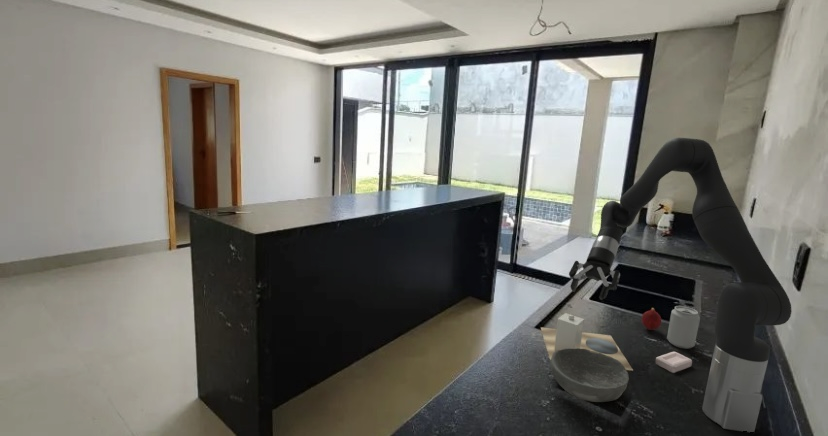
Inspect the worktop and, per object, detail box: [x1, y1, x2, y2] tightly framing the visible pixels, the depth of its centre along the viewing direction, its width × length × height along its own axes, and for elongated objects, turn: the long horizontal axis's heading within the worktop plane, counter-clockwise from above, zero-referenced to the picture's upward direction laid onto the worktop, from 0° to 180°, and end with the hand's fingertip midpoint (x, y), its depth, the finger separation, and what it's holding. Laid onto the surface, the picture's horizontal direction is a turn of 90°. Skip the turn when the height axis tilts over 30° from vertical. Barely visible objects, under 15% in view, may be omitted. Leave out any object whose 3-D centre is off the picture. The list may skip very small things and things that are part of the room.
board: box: [540, 326, 634, 372], centre depth 117 cm, size 20×22×2 cm
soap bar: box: [655, 351, 693, 374], centre depth 111 cm, size 5×9×2 cm, turn 116°
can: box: [666, 305, 701, 349], centre depth 122 cm, size 8×8×12 cm
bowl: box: [550, 348, 630, 403], centre depth 96 cm, size 18×18×8 cm
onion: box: [641, 307, 662, 331], centre depth 132 cm, size 6×6×8 cm
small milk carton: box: [554, 312, 585, 351], centre depth 113 cm, size 6×6×11 cm
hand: (586, 294), depth 120 cm, fingers open, 8 cm apart
